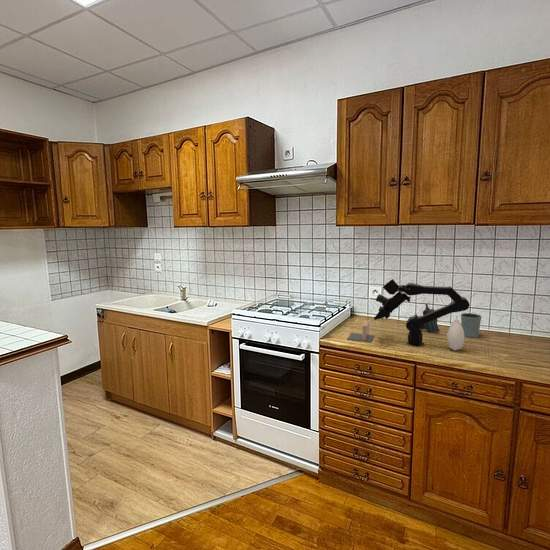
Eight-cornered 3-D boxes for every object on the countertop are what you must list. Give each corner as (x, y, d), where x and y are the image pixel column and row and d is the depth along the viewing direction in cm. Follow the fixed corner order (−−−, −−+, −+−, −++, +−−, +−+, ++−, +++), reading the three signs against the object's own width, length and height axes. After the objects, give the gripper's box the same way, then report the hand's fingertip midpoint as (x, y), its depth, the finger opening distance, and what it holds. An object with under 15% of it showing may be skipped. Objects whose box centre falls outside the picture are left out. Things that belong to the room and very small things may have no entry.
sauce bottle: (462, 353, 170) (464, 317, 168) (445, 350, 175) (446, 315, 172) (464, 349, 177) (466, 314, 174) (447, 346, 181) (449, 312, 179)
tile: (368, 335, 199) (369, 321, 198) (366, 340, 190) (366, 326, 189) (365, 334, 200) (365, 321, 199) (362, 339, 191) (362, 325, 190)
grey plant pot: (478, 334, 200) (479, 313, 199) (481, 339, 191) (483, 318, 190) (458, 332, 204) (459, 312, 203) (460, 337, 195) (462, 316, 193)
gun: (408, 305, 213) (433, 302, 204) (414, 332, 212) (440, 330, 203) (406, 306, 211) (432, 303, 202) (413, 333, 210) (439, 331, 201)
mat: (374, 336, 199) (374, 335, 199) (371, 342, 188) (371, 341, 188) (351, 333, 204) (351, 332, 204) (347, 339, 193) (347, 338, 193)
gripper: (387, 287, 196) (366, 304, 202) (383, 292, 179) (361, 312, 185) (401, 301, 194) (380, 319, 200) (399, 309, 177) (376, 328, 183)
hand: (374, 319), depth 192 cm, fingers closed
